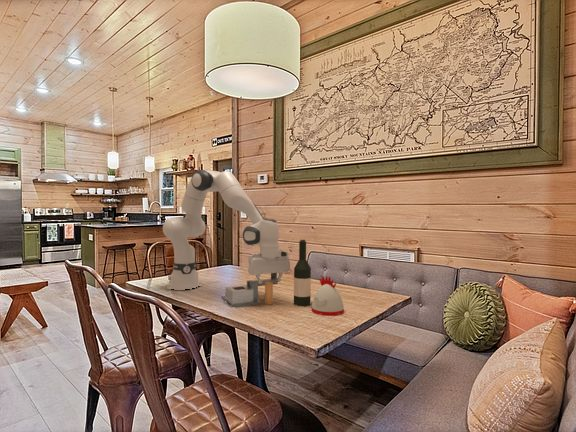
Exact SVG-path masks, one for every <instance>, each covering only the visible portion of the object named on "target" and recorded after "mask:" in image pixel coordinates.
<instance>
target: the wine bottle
mask: <svg viewBox="0 0 576 432" xmlns="http://www.w3.org/2000/svg"><path fill="white" fill-rule="evenodd" d="M298 247H299V249H298V251H299V252H298V254H299V255H298V260H297V263H296V265H295V266H294V268H293V305H294V306H297V307H308V306H311V288H312V287H311V285H312V282H311V281H312V280H311V279H312V273H311V271H312V268H311V266H310V264H309V262H308V260H307V241H306V239H300V240H299V243H298Z"/></svg>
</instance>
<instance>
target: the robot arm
mask: <svg viewBox="0 0 576 432" xmlns="http://www.w3.org/2000/svg"><path fill="white" fill-rule="evenodd" d="M208 192H209V193H213V192H214V193H215V192H217V193H218V192H219V194H220V197H221V198H222V200H223V202H224V203H225V205H227V207H228V208H231V209H234V210H236V211H239V212H241V213H243V214H244V215H246V216H247V217H248V218H249V220H250V221H251V223H252V224H251V225H247V226H246V227H245V228H244V229H243V231H242V240H243V242H244V243H245V244H246V245H248V246H259V253H251V254H250V255H249V257H248V267H247V269H248V270H247V271H248V274H249V275H252V276H255V278H256V280H258V284H262V280H263V279H262V278H260V277H261V275H265V274H271V273H277V278H276V281H277V282H278V283H281V282H282V281H281V279H282V277H283V275H284V273H288V272H289V271H290V269H291V264H290V258H289V256H290V254H289V252H288V251H285V250H283V249H280V248H279V247H280V244H279V238H280V232H279V224H278V221H277V220H276V219H273V218H269V217H264V216H263V215H262V213H261V212H260V210H259V209H258V207H257V206H256V204H254V201H252V200H251V199H250V197H249V196H248V195H247V194H246V192H245V191H244V189H243V187H242V185H241V183H240V182H239V181H238V179H237V178H236V177H235V175H234V174H233V173H232V172H231V171H228V170H224V171H217V170H213V169H212V170H205V169H200V170H195V171H194V173H192V176H191V179H190V180H189V181H188V184H187V186H186V188H185V191H184V195H183V199H182V202H181V205H180V207H181V209H182V211H183V213H185V216H184V217H183V218H182V217H179V218H178V217H174V218H170V219H167V220H165V221H164V223H163V225H162V233H163V234H164V236H165V237H166V238H167V239H168V240H169V241H170V242H171V244H172V248H173V253H174V254H173V255H174V256H173V257H174V259H173V260H174V262H173V265H172V268H173V270H172V272H171V274H170V275H168V281H169V282H167V286H166V290H171V289H174V290H173V291H186V290H185V289H190V290H193V289H192V288H195V289H197V288H199V287H198V286H200V287H202V284H201V283H199V282H200V281H199V271H197V270H196V267H197V264H196V248H195V247H194V246H193V245H191V243H189V240H188V238H197V237H199V236H202V235H204V233H205V232H206V228H207V227H206V223H205V221H204V220H203V218H202V211H203V207H204V203H205V200H206V196H207V194H208ZM196 287H197V288H196Z"/></svg>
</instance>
